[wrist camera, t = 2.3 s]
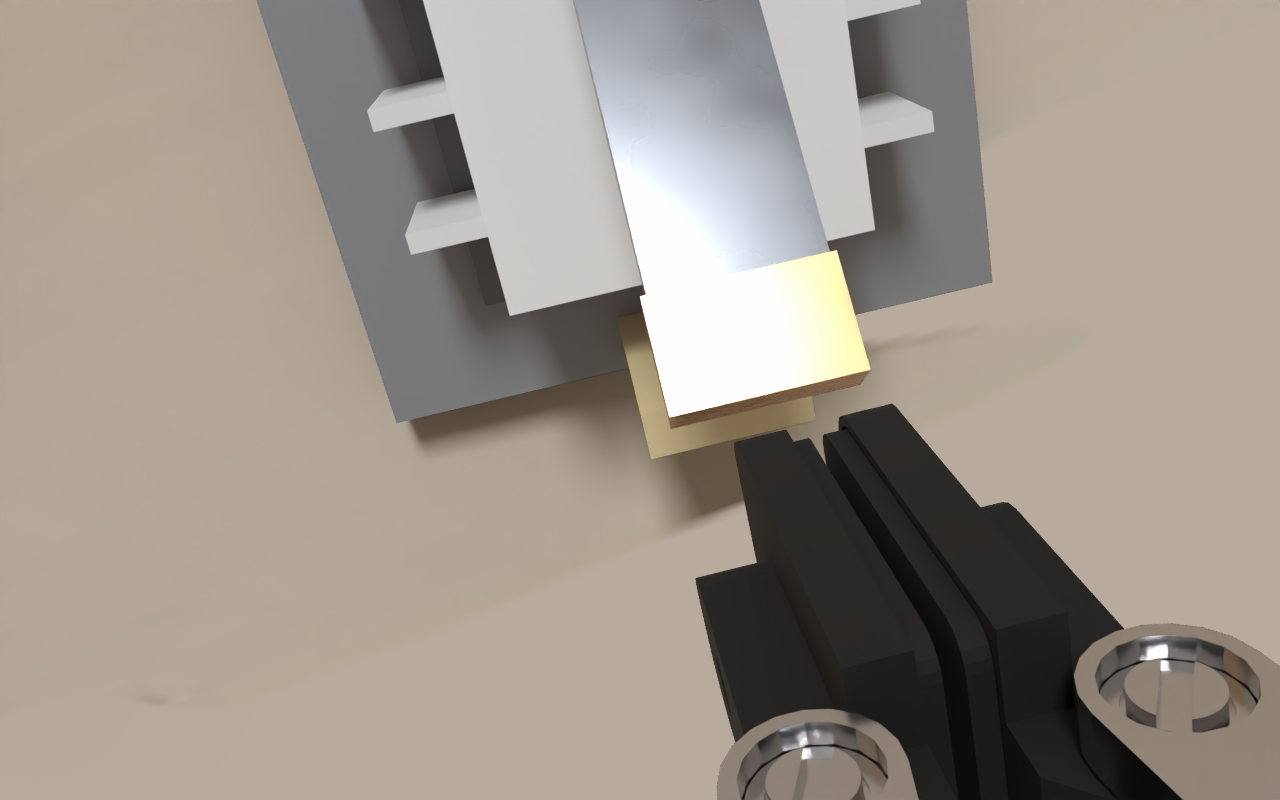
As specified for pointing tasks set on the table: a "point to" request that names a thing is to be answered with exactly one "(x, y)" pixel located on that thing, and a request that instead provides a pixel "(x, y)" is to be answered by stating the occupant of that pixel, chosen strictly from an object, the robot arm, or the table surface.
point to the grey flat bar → (718, 208)
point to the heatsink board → (581, 331)
